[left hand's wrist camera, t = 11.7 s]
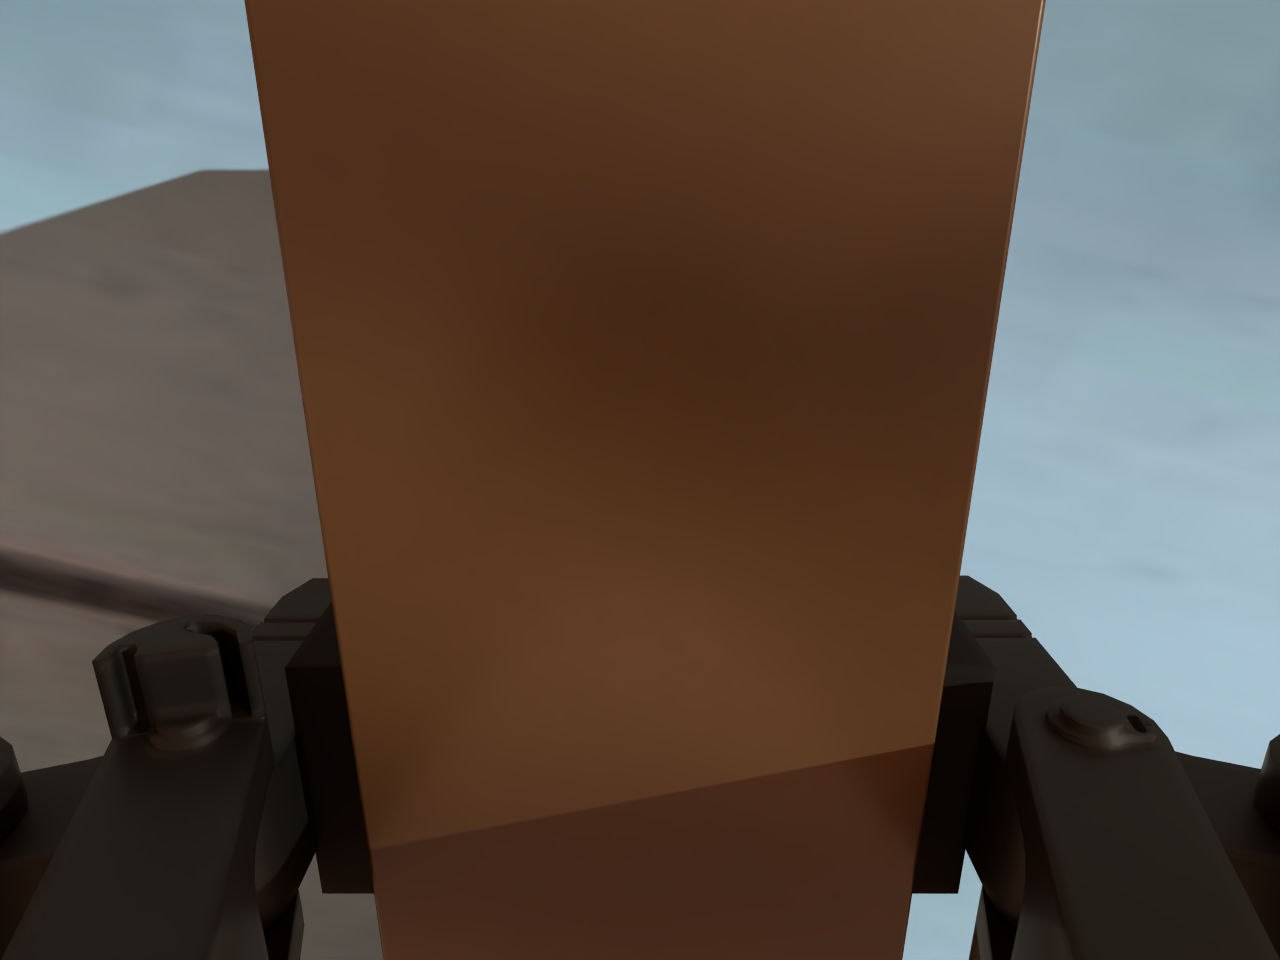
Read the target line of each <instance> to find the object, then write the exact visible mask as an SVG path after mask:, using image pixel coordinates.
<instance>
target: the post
mask: <svg viewBox="0 0 1280 960" xmlns="http://www.w3.org/2000/svg"><path fill="white" fill-rule="evenodd" d="M1045 1H1046V0H245V7H246V13H247V20H248V27H249V34H250V41H251V48H252V55H253V62H254V69H255V75H256V82H257V89H258V96H259V103H260V110H261V117H262V124H263V131H264V138H265V144H266V151H267V158H268V165H269V172H270V179H271V186H272V193H273V200H274V206H275V213H276V220H277V227H278V234H279V241H280V248H281V255H282V262H283V268H284V275H285V282H286V289H287V296H288V303H289V310H290V317H291V324H292V330H293V337H294V344H295V351H296V358H297V365H298V372H299V379H300V386H301V393H302V399H303V406H304V413H305V420H306V427H307V434H308V441H309V448H310V455H311V461H312V468H313V475H314V482H315V489H316V496H317V503H318V510H319V517H320V523H321V530H322V537H323V544H324V551H325V558H326V565H327V572H328V579H329V585H330V592H331V599H332V606H333V613H334V620H335V627H336V634H337V641H338V648H339V654H340V661H341V668H342V675H343V682H344V689H345V696H346V703H347V710H348V716H349V723H350V730H351V737H352V744H353V751H354V758H355V765H356V772H357V778H358V785H359V792H360V799H361V806H362V813H363V820H364V827H365V834H366V840H367V847H368V854H369V861H370V868H371V875H372V882H373V889H374V896H375V903H376V909H377V916H378V923H379V930H380V937H381V944H382V951H383V958H384V960H902V958H903V951H904V944H905V938H906V931H907V924H908V917H909V911H910V904H911V897H912V891H913V884H914V877H915V871H916V864H917V857H918V851H919V844H920V837H921V830H922V824H923V817H924V810H925V804H926V797H927V790H928V784H929V777H930V770H931V764H932V757H933V750H934V744H935V737H936V730H937V723H938V717H939V710H940V703H941V697H942V690H943V683H944V677H945V670H946V663H947V657H948V650H949V643H950V637H951V630H952V623H953V616H954V610H955V603H956V596H957V590H958V583H959V576H960V570H961V563H962V556H963V550H964V543H965V536H966V530H967V523H968V516H969V509H970V503H971V496H972V489H973V483H974V476H975V469H976V463H977V456H978V449H979V443H980V436H981V429H982V423H983V416H984V409H985V402H986V396H987V389H988V382H989V376H990V369H991V362H992V356H993V349H994V342H995V336H996V329H997V322H998V316H999V309H1000V302H1001V295H1002V289H1003V282H1004V275H1005V269H1006V262H1007V255H1008V249H1009V242H1010V235H1011V229H1012V222H1013V215H1014V208H1015V202H1016V195H1017V188H1018V182H1019V175H1020V168H1021V162H1022V155H1023V148H1024V142H1025V135H1026V128H1027V122H1028V115H1029V108H1030V101H1031V95H1032V88H1033V81H1034V75H1035V68H1036V61H1037V55H1038V48H1039V41H1040V35H1041V28H1042V21H1043V15H1044V8H1045Z"/></svg>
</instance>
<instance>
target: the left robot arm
mask: <svg viewBox="0 0 1280 960" xmlns="http://www.w3.org/2000/svg"><path fill="white" fill-rule="evenodd" d="M92 663H93V667H94V671H95V674H96V678H97V682H98V686H99V690H100V694H101V698H102V701H103V705H104V709H105V713H106V717H107V721H108V725H109V728H110V732H111V736H112V740H111V742H110V744H109V746H108V748H107V750H106V752H105V754H104V756H101V757H97V758H93V759H89V760H84V761H79V762H74V763H69V764H64V765H59V766H53V767H48V768H43V769H38V770H33V771H28V772H23V773H21V772H20V769H19V766H18V763H17V760H16V756H15V753H14V750H13V747H12V745H11V744H10V743H8V742H7V741H5V740H4V739H3V738H1V737H0V960H300V955H301V947H302V939H303V931H304V920H303V913H302V906H301V901H300V895H299V890H298V888H299V886H300V884H301V882H302V880H303V878H304V875H305V873H306V871H307V869H308V867H309V865H310V863H311V861H312V859H313V856H314V854H315V852H316V857H317V863H318V869H319V875H320V881H321V887H322V893H374V889H373V882H372V875H371V868H370V861H369V854H368V847H367V840H366V834H365V827H364V820H363V813H362V806H361V799H360V792H359V785H358V778H357V772H356V765H355V758H354V751H353V744H352V737H351V730H350V723H349V716H348V710H347V703H346V696H345V689H344V682H343V675H342V668H341V661H340V654H339V648H338V641H337V634H336V627H335V620H334V613H333V606H332V599H331V592H330V585H329V579H328V578H313V579H311V580H309V581H308V582H306V583H304V584H303V585H301V586H299V587H298V588H296V589H294V590H293V591H291V592H289V593H288V594H286V595H284V596H283V597H282V598H281V599H280V600H279V601H278V603H277V604H276V605H275V606H274V607H273V609H272V610H271V611H270V612H269V613H268V615H267V616H266V617H265V618H264V623H260V624H259V625H258V627H257V628H256V629H255V630H254V631H253V633H252V630H251V628H250V627H249V626H247V625H246V624H244V623H243V622H242V621H240V620H239V619H234V618H229V617H224V616H219V615H205V616H188V617H183V618H177V619H172V620H167V621H162V622H159V623H156V624H153V625H150V626H147V627H145V628H142V629H139V630H136V631H133V632H131V633H129V634H127V635H126V636H124V637H122V638H120V639H119V640H117V641H115V642H113V643H112V644H110V645H108V646H107V647H106V648H105V649H104V650H103V651H102V652H101V653H100V654H99V655H98V656H97V657H96V658H95V659H94V660H93V661H92ZM965 849H966V851H967V853H968V855H969V857H970V859H971V861H972V864H973V866H974V868H975V870H976V872H977V874H978V876H979V878H980V880H981V882H982V890H981V895H980V901H979V906H978V912H977V917H976V923H975V928H974V934H973V939H972V945H971V950H970V956H969V960H1280V734H1279V735H1278V736H1277V737H1275V738H1274V739H1273V740H1271V741H1270V743H1269V746H1268V749H1267V752H1266V756H1265V759H1264V762H1263V765H1262V768H1261V769H1257V768H1252V767H1247V766H1242V765H1237V764H1232V763H1226V762H1221V761H1216V760H1211V759H1206V758H1201V757H1196V756H1191V755H1187V754H1183V753H1179V752H1175V751H1174V749H1173V747H1172V745H1171V743H1170V741H1169V739H1168V737H1167V736H1166V735H1165V734H1164V732H1163V731H1162V730H1161V729H1160V728H1159V726H1158V725H1157V724H1156V723H1155V721H1154V720H1152V719H1151V718H1149V717H1148V716H1146V715H1145V714H1143V713H1142V712H1140V711H1139V710H1137V709H1136V708H1134V707H1133V706H1131V705H1129V704H1127V703H1124V702H1122V701H1119V700H1117V699H1115V698H1112V697H1110V696H1107V695H1105V694H1102V693H1098V692H1093V691H1089V690H1085V689H1080V688H1077V687H1076V686H1075V684H1074V683H1073V682H1072V681H1071V680H1070V678H1069V677H1068V676H1067V675H1066V674H1065V672H1064V671H1063V670H1062V669H1061V668H1060V667H1059V665H1058V664H1057V663H1056V662H1055V661H1054V659H1053V658H1052V657H1051V656H1050V655H1049V653H1048V652H1047V651H1046V650H1045V649H1044V647H1043V646H1042V645H1041V644H1040V643H1039V641H1038V640H1037V639H1036V638H1032V633H1031V632H1030V631H1029V629H1028V628H1027V627H1026V626H1025V625H1024V624H1023V622H1022V621H1021V620H1017V615H1016V614H1015V613H1014V612H1013V610H1012V609H1011V608H1010V607H1009V606H1008V604H1007V603H1006V602H1005V601H1004V600H1003V598H1002V597H1001V596H1000V595H999V594H998V593H996V592H995V591H993V590H991V589H990V588H988V587H986V586H984V585H983V584H981V583H979V582H978V581H976V580H974V579H973V578H971V577H969V576H959V583H958V590H957V596H956V603H955V610H954V616H953V623H952V630H951V637H950V643H949V650H948V657H947V663H946V670H945V677H944V683H943V690H942V697H941V703H940V710H939V717H938V723H937V730H936V737H935V744H934V750H933V757H932V764H931V770H930V777H929V784H928V790H927V797H926V804H925V810H924V817H923V824H922V830H921V837H920V844H919V851H918V857H917V864H916V871H915V877H914V884H913V891H912V893H952V894H958V890H959V884H960V878H961V872H962V866H963V860H964V855H965Z"/></svg>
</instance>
